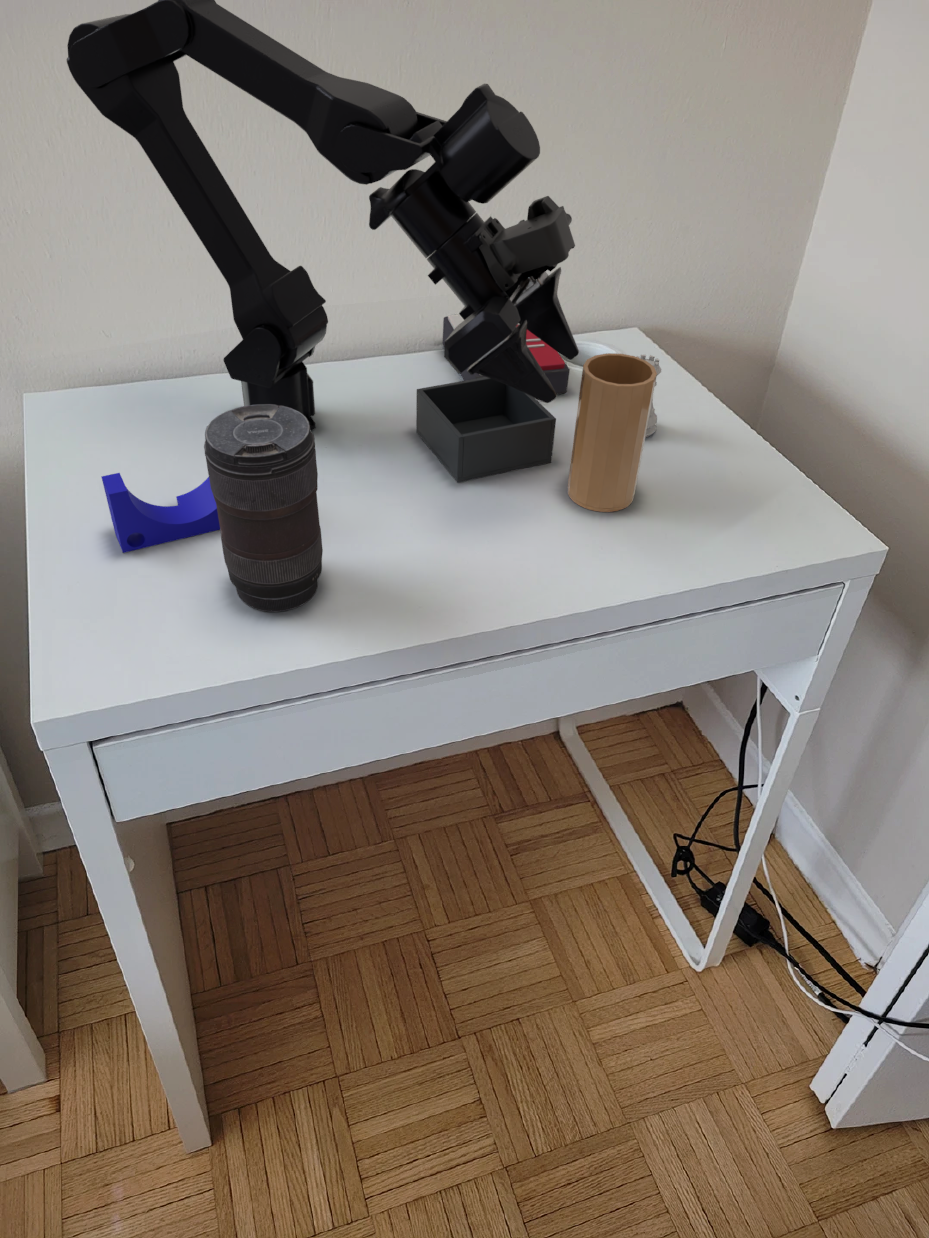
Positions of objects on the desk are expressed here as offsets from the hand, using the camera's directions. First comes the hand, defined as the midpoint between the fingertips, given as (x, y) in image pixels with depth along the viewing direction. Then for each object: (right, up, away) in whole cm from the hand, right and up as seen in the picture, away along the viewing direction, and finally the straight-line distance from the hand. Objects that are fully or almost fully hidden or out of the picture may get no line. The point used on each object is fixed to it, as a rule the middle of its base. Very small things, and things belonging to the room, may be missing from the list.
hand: (564, 377), depth 86 cm
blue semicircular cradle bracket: (-34, -13, 0) cm, 37 cm away
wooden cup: (+4, -10, +6) cm, 12 cm away
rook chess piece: (+9, -2, +16) cm, 19 cm away
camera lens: (-25, -19, -6) cm, 32 cm away
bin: (-7, -4, +12) cm, 15 cm away
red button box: (-5, +7, +26) cm, 28 cm away
